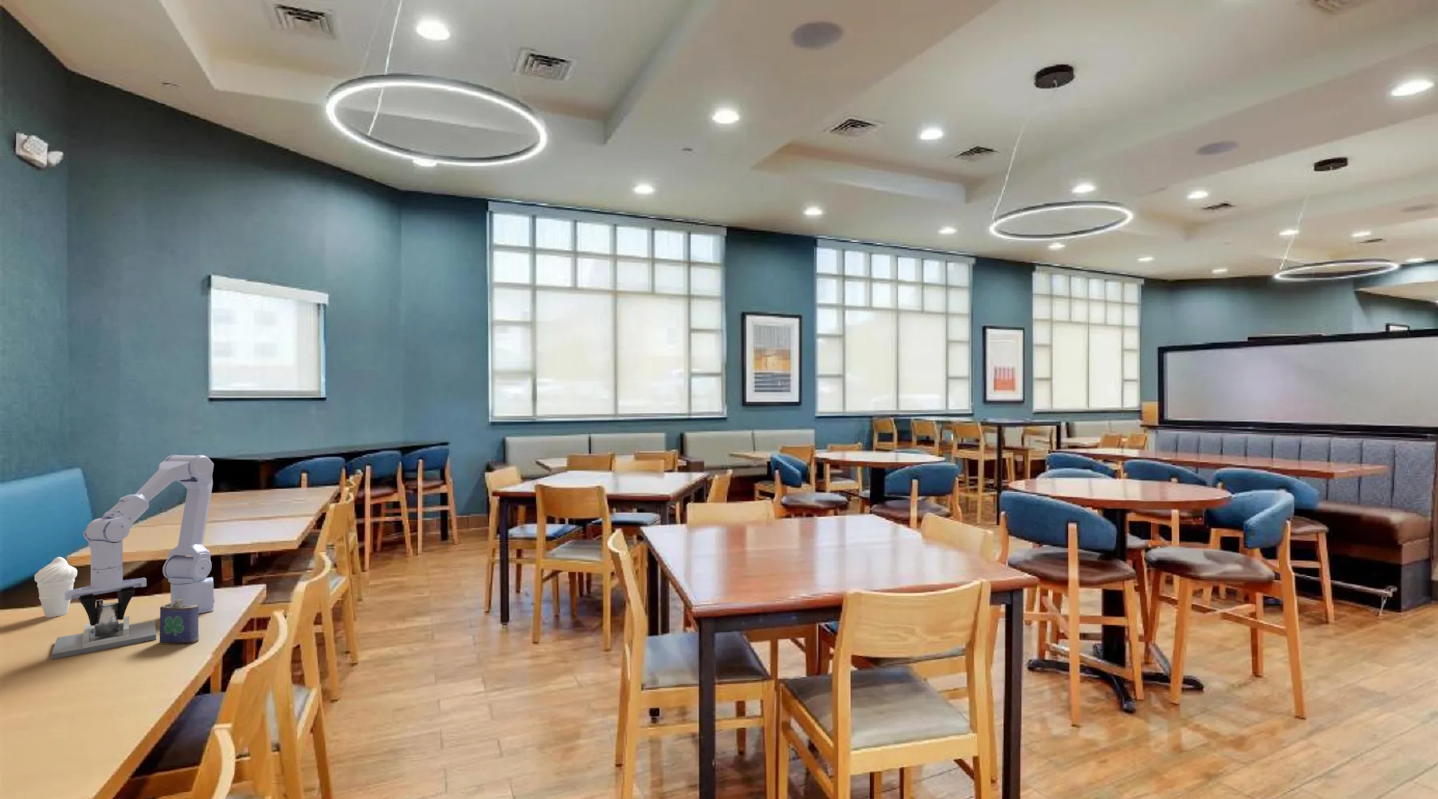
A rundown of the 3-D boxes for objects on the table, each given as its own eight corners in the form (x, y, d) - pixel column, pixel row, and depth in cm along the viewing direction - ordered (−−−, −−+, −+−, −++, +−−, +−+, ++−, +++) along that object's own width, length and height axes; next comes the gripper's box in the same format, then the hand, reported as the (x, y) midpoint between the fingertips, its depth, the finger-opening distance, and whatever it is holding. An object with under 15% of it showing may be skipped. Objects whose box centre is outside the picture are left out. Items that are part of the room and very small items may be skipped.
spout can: (115, 629, 161) (115, 595, 161) (120, 632, 159) (120, 598, 159) (91, 634, 157) (91, 599, 157) (96, 637, 155) (96, 602, 155)
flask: (201, 640, 158) (201, 597, 158) (191, 644, 155) (191, 601, 155) (165, 639, 158) (165, 596, 158) (154, 644, 156) (154, 600, 156)
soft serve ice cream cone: (54, 620, 173) (54, 561, 173) (24, 620, 173) (24, 561, 173) (86, 610, 181) (86, 553, 181) (57, 609, 181) (57, 553, 181)
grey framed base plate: (154, 624, 169) (154, 610, 169) (156, 639, 159) (156, 624, 159) (57, 642, 157) (57, 627, 157) (51, 659, 146) (51, 643, 146)
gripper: (141, 558, 166) (141, 610, 166) (62, 570, 154) (62, 626, 154) (148, 562, 162) (148, 616, 162) (67, 575, 150) (67, 633, 150)
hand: (106, 621), depth 158 cm, fingers closed on spout can, 4 cm apart
